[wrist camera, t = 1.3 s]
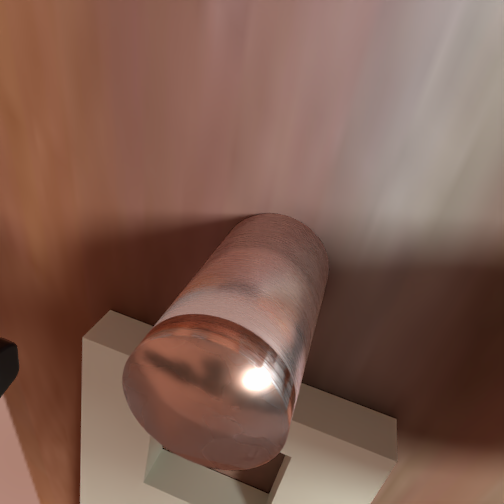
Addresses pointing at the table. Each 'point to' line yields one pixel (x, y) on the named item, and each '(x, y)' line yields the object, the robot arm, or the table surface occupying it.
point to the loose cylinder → (233, 347)
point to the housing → (202, 478)
